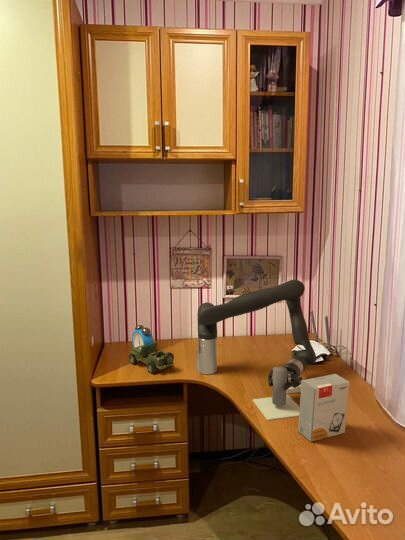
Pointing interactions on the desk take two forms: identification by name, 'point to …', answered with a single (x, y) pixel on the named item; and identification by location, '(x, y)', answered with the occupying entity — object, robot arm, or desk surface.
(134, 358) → the toy jeep
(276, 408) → the pale sage mat
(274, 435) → the desk surface
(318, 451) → the desk surface
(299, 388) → the off-white collar
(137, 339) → the alarm clock
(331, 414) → the hard drive box
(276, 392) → the grey cylinder
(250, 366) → the desk surface
